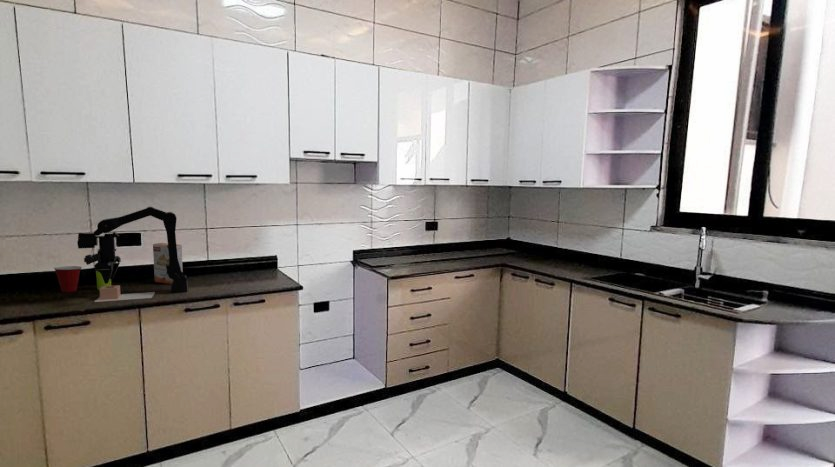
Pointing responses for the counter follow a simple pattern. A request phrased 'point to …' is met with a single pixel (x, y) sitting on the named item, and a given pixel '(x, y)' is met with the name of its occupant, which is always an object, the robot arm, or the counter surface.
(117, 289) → the pink hollow square block
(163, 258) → the cracker box
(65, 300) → the counter surface
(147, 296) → the base plate
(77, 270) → the plastic cup
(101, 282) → the soap dispenser
